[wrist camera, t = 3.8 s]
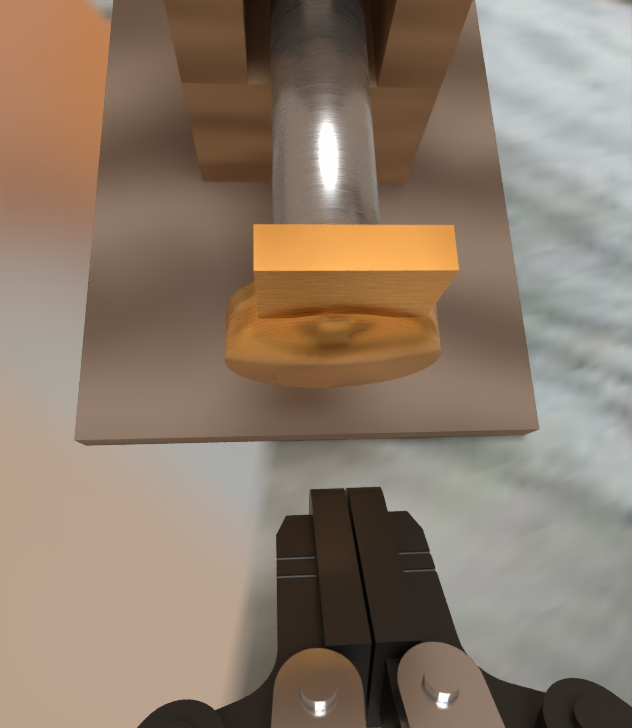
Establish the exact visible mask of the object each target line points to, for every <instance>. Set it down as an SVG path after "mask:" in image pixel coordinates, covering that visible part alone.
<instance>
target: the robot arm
mask: <svg viewBox="0 0 632 728" xmlns="http://www.w3.org/2000/svg"><path fill="white" fill-rule="evenodd" d="M276 551H277V629H278V652H277V659H276V663H275V665H274V668H273V670H272V672H271V674H270V676H269V677H268V679H267V680H266V681H265V682H264V684H263V685H262V686H261V687H259V688H258V689H257V690H256V691H255V692H253V693H252V694H250V695H249V696H247V697H245V698H243V699H241V700H239V701H236V702H234V703H232V704H229V705H227V706H224V707H222V708H220V709H217V710H214V709H213V708H212V707H210V706H208V705H207V704H205V703H203V702H200V701H196V700H178V701H173V702H171V703H168V704H165V705H164V706H162V707H160V708H158V709H157V710H155V711H154V712H152V713H151V714H150V715H149V716H148V717H147V718H146V719H145V720H144V721H143V722H142V723H141V724H140V725H139V726H138V727H137V728H366V727H367V728H368V727H381V728H632V707H631V706H630V705H628V704H627V703H625V702H624V701H623V700H621V699H620V698H619V697H617V696H616V695H615V694H613V693H612V692H610V691H609V690H607V689H606V688H604V687H602V686H600V685H598V684H596V683H594V682H591V681H588V680H584V679H580V678H567V679H562V680H559V681H557V682H555V683H554V684H552V685H551V686H550V687H549V689H548V690H547V692H546V693H545V692H541V691H537V690H533V689H530V688H526V687H522V686H518V685H515V684H511V683H508V682H505V681H502V680H499V679H497V678H495V677H493V676H491V675H489V674H488V673H486V672H485V671H483V670H482V669H481V668H480V667H478V666H477V665H476V663H475V662H474V661H473V660H472V659H471V658H470V657H469V656H468V655H467V654H466V652H465V651H464V649H463V647H462V646H461V644H460V641H459V639H458V636H457V633H456V630H455V627H454V624H453V620H452V617H451V614H450V611H449V608H448V605H447V602H446V599H445V596H444V593H443V590H442V587H441V584H440V581H439V578H438V575H437V572H436V571H435V565H434V562H433V559H432V556H431V554H430V552H429V551H430V550H429V547H428V544H427V541H426V538H425V535H424V532H423V529H422V528H421V527H420V525H419V524H418V523H417V522H416V521H415V520H414V519H413V517H412V516H411V515H410V514H409V513H408V512H407V511H394V512H388V511H387V507H386V503H385V499H384V495H383V492H382V489H381V487H362V488H346V490H344V488H338V489H310V497H309V515H291V516H286V517H285V519H284V521H283V523H282V525H281V527H280V529H279V531H278V533H277V535H276ZM365 720H366V721H365Z"/></svg>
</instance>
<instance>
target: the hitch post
mask: <svg viewBox="0 0 632 728" xmlns="http://www.w3.org/2000/svg"><path fill="white" fill-rule="evenodd" d="M363 3H364V16H365V29H366V42H367V56H368V69H369V82H370V95H371V108H372V121H373V134H374V147H375V161H376V174H377V187H378V200H379V213H380V225H454V231H455V239H456V247H457V256H458V264H459V271H458V273H457V274H456V276H455V277H454V279H453V280H452V281H451V283H450V284H449V286H448V287H447V289H446V290H445V291H444V293H443V294H442V296H441V297H440V299H439V300H438V301H437V303H436V308H437V317H438V327H439V337H440V346H441V354H440V357H439V358H438V359H437V361H435V362H434V363H433V364H432V365H430V366H429V367H427V368H425V369H423V370H421V371H419V372H416V373H414V374H411V375H408V376H405V377H401V378H397V379H393V380H389V381H384V382H379V383H373V384H366V385H358V386H348V387H330V388H305V387H289V386H279V385H272V384H266V383H261V382H257V381H253V380H250V379H247V378H244V377H242V376H239V375H237V374H235V373H234V372H232V371H231V370H230V369H229V368H228V367H227V365H226V364H225V312H226V304H227V302H228V300H229V299H230V297H231V296H232V295H233V294H234V293H235V292H236V291H238V290H239V289H240V288H242V287H243V286H245V285H247V284H249V283H251V282H253V281H254V245H253V224H273V200H272V130H271V60H270V0H113V11H112V22H111V35H110V46H109V57H108V67H107V79H106V90H105V101H104V113H103V124H102V135H101V146H100V158H99V169H98V181H97V191H96V202H95V214H94V225H93V237H92V248H91V259H90V271H89V281H88V292H87V304H86V316H85V326H84V339H83V349H82V360H81V372H80V382H79V394H78V406H77V416H76V427H75V441H77V442H79V443H82V444H84V445H126V444H167V443H207V442H247V441H289V440H330V439H371V438H411V437H452V436H493V435H525V434H528V433H531V432H533V431H536V430H538V429H539V424H538V418H537V411H536V404H535V398H534V391H533V384H532V378H531V371H530V364H529V358H528V351H527V344H526V338H525V331H524V324H523V318H522V311H521V304H520V298H519V291H518V284H517V278H516V271H515V264H514V258H513V251H512V244H511V238H510V231H509V224H508V218H507V211H506V204H505V198H504V191H503V184H502V178H501V171H500V164H499V158H498V151H497V144H496V138H495V131H494V124H493V118H492V111H491V104H490V98H489V91H488V84H487V78H486V71H485V64H484V58H483V51H482V44H481V38H480V31H479V24H478V18H477V11H476V4H475V0H363Z"/></svg>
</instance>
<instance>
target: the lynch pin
mask: <svg viewBox="0 0 632 728" xmlns="http://www.w3.org/2000/svg"><path fill="white" fill-rule="evenodd" d="M270 60H271V130H272V200H273V224H253V245H254V281H253V282H251V283H249V284H247V285H245V286H243V287H242V288H240V289H239V290H238V291H236V292H235V293H234V294H233V295H232V296H231V297H230V299H229V300H228V302H227V304H226V312H225V364H226V365H227V367H228V368H229V369H230V370H231V371H232V372H234V373H235V374H237V375H239V376H242V377H244V378H247V379H250V380H253V381H257V382H261V383H266V384H272V385H279V386H289V387H305V388H330V387H348V386H358V385H366V384H373V383H379V382H384V381H389V380H393V379H397V378H401V377H405V376H408V375H411V374H414V373H416V372H419V371H421V370H423V369H425V368H427V367H429V366H430V365H432V364H433V363H434V362H435V361H437V359H438V358H439V357H440V354H441V346H440V337H439V327H438V317H437V308H436V303H437V301H438V300H439V299H440V297H441V296H442V294H443V293H444V291H445V290H446V289H447V287H448V286H449V284H450V283H451V281H452V280H453V279H454V277H455V276H456V274H457V273H458V271H459V264H458V256H457V247H456V239H455V231H454V225H380V213H379V200H378V187H377V174H376V161H375V147H374V134H373V121H372V108H371V95H370V82H369V69H368V56H367V42H366V29H365V16H364V3H363V0H270Z"/></svg>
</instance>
